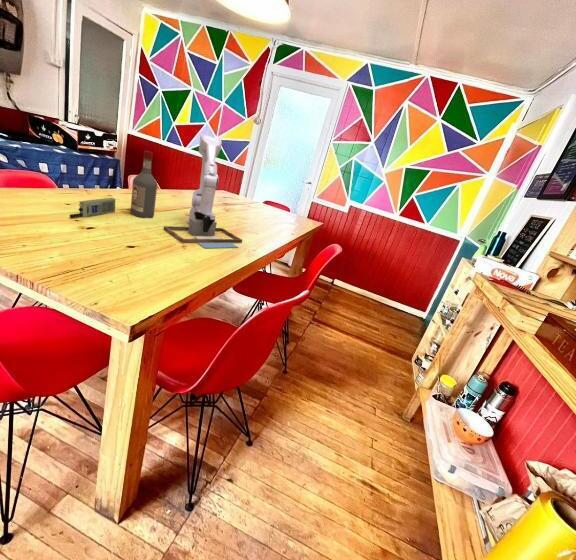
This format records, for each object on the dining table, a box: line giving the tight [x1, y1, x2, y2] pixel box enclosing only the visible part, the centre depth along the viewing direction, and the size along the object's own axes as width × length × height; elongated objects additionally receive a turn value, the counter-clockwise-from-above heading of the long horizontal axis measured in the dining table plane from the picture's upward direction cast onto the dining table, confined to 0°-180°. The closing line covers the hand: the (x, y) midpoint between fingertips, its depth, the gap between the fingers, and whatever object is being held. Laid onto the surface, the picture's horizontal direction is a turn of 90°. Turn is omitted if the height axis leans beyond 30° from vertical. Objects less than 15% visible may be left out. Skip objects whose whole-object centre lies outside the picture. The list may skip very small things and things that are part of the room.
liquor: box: [130, 150, 158, 219], centre depth 152 cm, size 9×9×30 cm
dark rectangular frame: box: [163, 225, 243, 244], centre depth 151 cm, size 17×32×2 cm, turn 135°
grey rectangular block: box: [187, 219, 217, 237], centre depth 152 cm, size 4×12×7 cm, turn 135°
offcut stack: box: [193, 235, 223, 239], centre depth 149 cm, size 4×15×2 cm, turn 133°
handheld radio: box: [69, 197, 116, 219], centre depth 138 cm, size 7×3×25 cm
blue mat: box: [197, 243, 239, 250], centre depth 144 cm, size 6×18×1 cm, turn 135°
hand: (202, 229), depth 152 cm, fingers open, 6 cm apart
